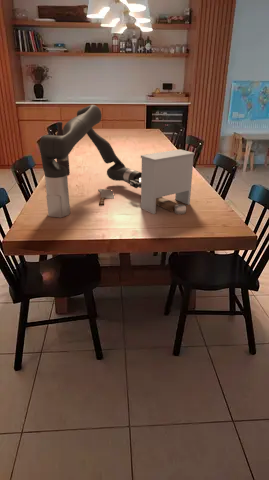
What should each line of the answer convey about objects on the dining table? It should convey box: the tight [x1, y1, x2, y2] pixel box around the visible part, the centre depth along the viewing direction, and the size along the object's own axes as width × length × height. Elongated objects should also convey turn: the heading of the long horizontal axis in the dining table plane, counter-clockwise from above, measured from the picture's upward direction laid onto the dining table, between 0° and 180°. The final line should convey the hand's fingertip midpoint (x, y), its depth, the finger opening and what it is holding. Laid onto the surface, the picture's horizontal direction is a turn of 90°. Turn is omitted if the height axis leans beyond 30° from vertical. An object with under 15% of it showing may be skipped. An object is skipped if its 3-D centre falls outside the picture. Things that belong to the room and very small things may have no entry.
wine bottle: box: [55, 121, 71, 176], centre depth 209 cm, size 7×7×30 cm
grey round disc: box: [173, 203, 187, 215], centre depth 160 cm, size 5×5×3 cm
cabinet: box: [140, 149, 196, 215], centre depth 162 cm, size 10×23×24 cm, turn 126°
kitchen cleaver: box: [97, 188, 115, 206], centre depth 178 cm, size 24×1×10 cm
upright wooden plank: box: [156, 196, 178, 213], centre depth 166 cm, size 18×4×14 cm, turn 36°
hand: (153, 185), depth 171 cm, fingers open, 8 cm apart
